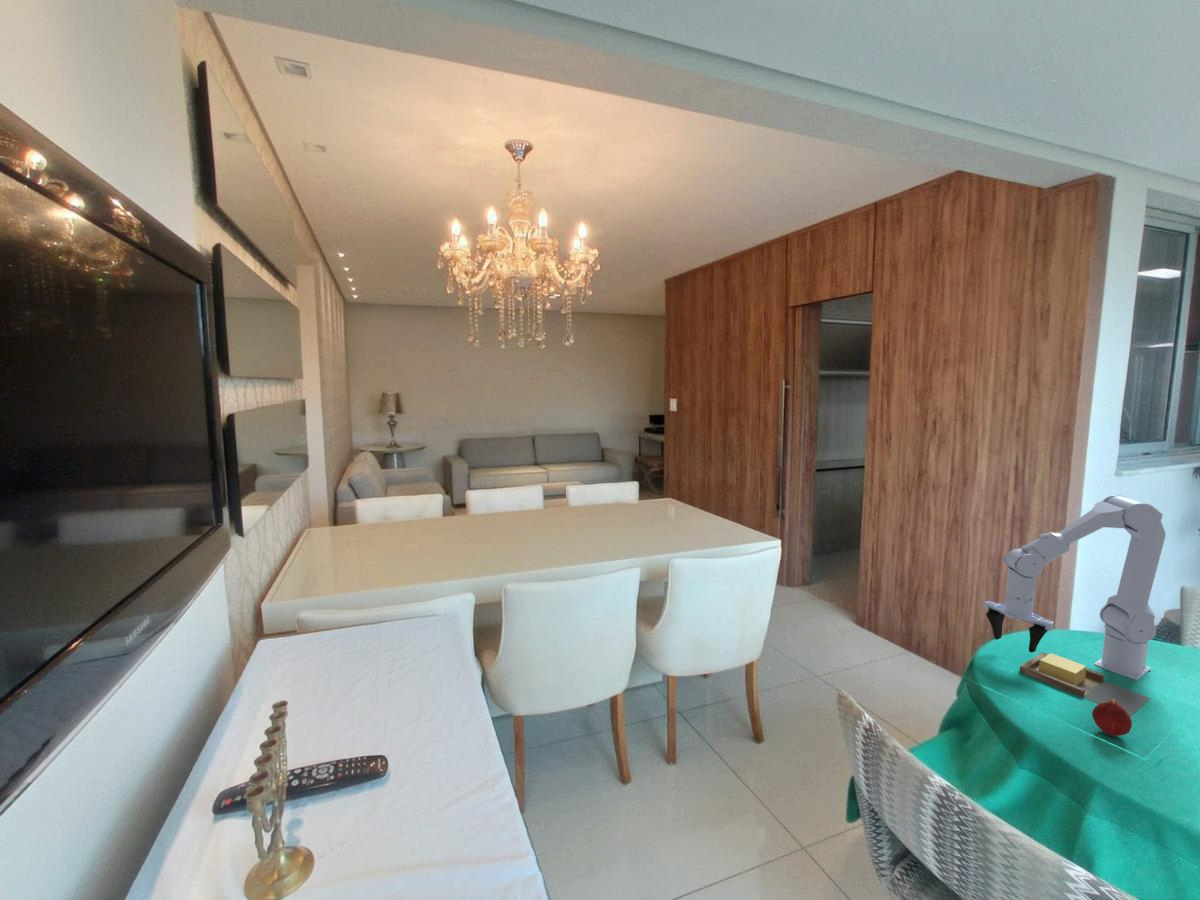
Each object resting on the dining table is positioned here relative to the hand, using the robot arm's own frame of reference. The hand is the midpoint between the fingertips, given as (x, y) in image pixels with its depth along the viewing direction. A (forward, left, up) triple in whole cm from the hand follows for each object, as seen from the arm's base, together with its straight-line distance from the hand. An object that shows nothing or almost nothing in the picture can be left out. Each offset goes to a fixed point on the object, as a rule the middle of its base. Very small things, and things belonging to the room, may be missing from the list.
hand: (1014, 644), depth 136 cm
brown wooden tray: (0, +10, -4) cm, 11 cm away
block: (0, +10, -4) cm, 11 cm away
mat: (0, +20, -4) cm, 21 cm away
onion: (+17, +24, -4) cm, 30 cm away
